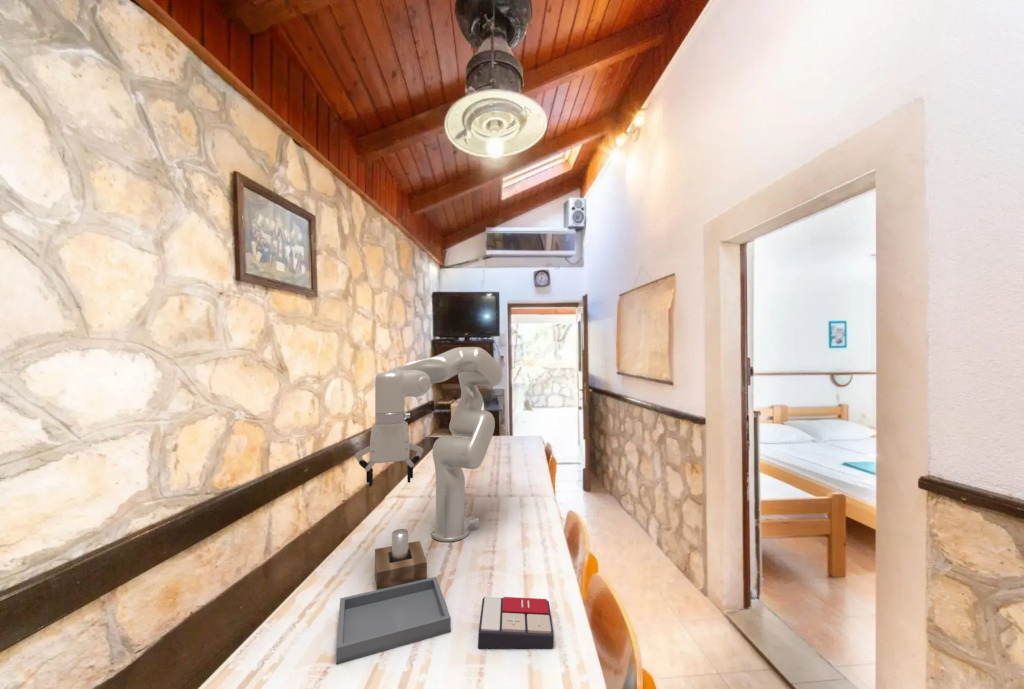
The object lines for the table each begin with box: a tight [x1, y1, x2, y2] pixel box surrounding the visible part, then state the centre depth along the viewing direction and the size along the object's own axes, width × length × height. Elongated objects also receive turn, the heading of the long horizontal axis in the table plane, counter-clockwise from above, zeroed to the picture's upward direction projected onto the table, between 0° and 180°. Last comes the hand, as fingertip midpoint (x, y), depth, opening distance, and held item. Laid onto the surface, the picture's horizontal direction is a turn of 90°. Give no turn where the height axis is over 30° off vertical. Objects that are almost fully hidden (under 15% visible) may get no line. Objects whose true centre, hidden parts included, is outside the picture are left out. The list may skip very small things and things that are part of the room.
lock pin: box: [391, 528, 409, 563], centre depth 100 cm, size 4×4×12 cm
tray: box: [336, 576, 452, 665], centre depth 84 cm, size 22×16×3 cm
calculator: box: [477, 596, 555, 650], centre depth 81 cm, size 11×4×15 cm
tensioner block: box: [374, 540, 428, 590], centre depth 100 cm, size 12×12×6 cm
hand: (390, 482), depth 101 cm, fingers open, 9 cm apart
